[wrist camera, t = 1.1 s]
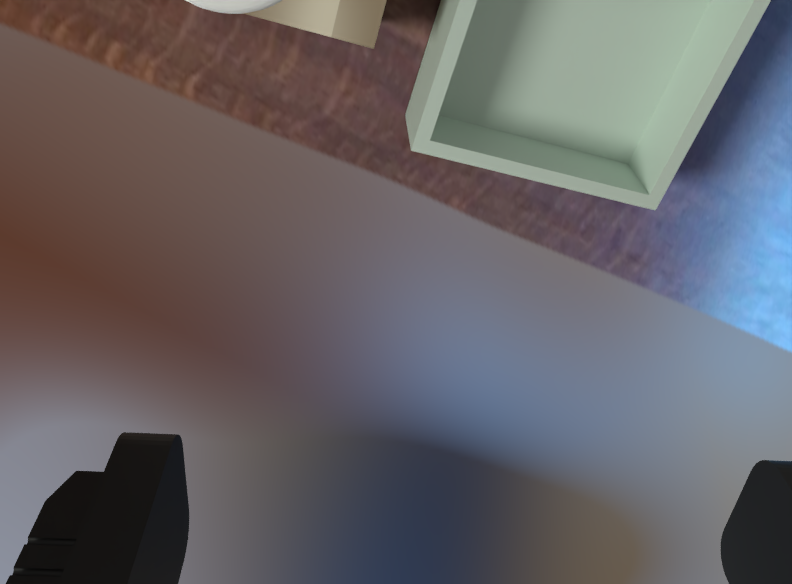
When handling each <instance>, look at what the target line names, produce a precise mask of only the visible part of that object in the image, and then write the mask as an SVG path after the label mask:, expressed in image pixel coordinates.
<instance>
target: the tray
mask: <svg viewBox="0 0 792 584" xmlns="http://www.w3.org/2000/svg"><path fill="white" fill-rule="evenodd" d="M770 1H771V0H441V1H440V5H439V8H438V11H437V14H436V18H435V21H434V24H433V27H432V30H431V34H430V37H429V40H428V43H427V47H426V50H425V53H424V56H423V59H422V63H421V66H420V69H419V72H418V76H417V79H416V82H415V85H414V88H413V92H412V95H411V98H410V101H409V105H408V108H407V111H406V114H405V117H406V123H407V129H408V135H409V141H410V147H411V151H415V152H419V153H423V154H428V155H432V156H436V157H440V158H444V159H448V160H452V161H456V162H460V163H464V164H468V165H472V166H476V167H481V168H485V169H489V170H493V171H497V172H501V173H505V174H509V175H513V176H517V177H521V178H525V179H530V180H534V181H538V182H542V183H546V184H550V185H554V186H558V187H562V188H566V189H570V190H574V191H579V192H583V193H587V194H591V195H595V196H599V197H603V198H607V199H611V200H615V201H619V202H623V203H627V204H632V205H636V206H640V207H644V208H648V209H652V210H656V208H657V207H658V205H659V203H660V201H661V199H662V198H663V196H664V194H665V192H666V190H667V188H668V187H669V185H670V183H671V181H672V179H673V178H674V176H675V174H676V172H677V170H678V168H679V167H680V165H681V163H682V161H683V159H684V158H685V156H686V154H687V152H688V150H689V148H690V147H691V145H692V143H693V141H694V139H695V138H696V136H697V134H698V132H699V130H700V128H701V127H702V125H703V123H704V121H705V119H706V118H707V116H708V114H709V112H710V110H711V108H712V107H713V105H714V103H715V101H716V99H717V98H718V96H719V94H720V92H721V90H722V89H723V87H724V85H725V83H726V81H727V79H728V78H729V76H730V74H731V72H732V70H733V69H734V67H735V65H736V63H737V61H738V59H739V58H740V56H741V54H742V52H743V50H744V49H745V47H746V45H747V43H748V41H749V39H750V38H751V36H752V34H753V32H754V30H755V29H756V27H757V25H758V23H759V21H760V19H761V18H762V16H763V14H764V12H765V10H766V9H767V7H768V5H769V3H770Z"/></svg>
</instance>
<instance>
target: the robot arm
mask: <svg viewBox="0 0 792 584" xmlns="http://www.w3.org/2000/svg"><path fill="white" fill-rule="evenodd" d="M188 531H189V505H188V496H187V485H186V475H185V465H184V454H183V445H182V440H181V437H180V435H175V434H174V435H173V434H150V433H126V432H124V433H122V434H121V435H120V436H119V438H118V439H117V442H116V444H115V446H114V449H113V451H112V454H111V456H110V458H109V461H108V463H107V466H106V468H105V471H104V472H92V471H76V472H75V473H74V474H73V475H72V476H71V477H70V478H69V479H68V480H66V481H65V482H64V483H63V484H62V486H60V488H58V489H57V490H56V491H55V492H54V493H53V494H52V495H51V496H50V497H49V498H48V499H47V500H46V501H45V503H44V505H43V507H42V509H41V511H40V513H39V515H38V518H37V520H36V522H35V524H34V526H33V528H32V530H31V532H30V534H29V536H28V543H27V545H24V547H23V549H22V551H21V553H20V555H19V557H18V559H17V562H16V564H15V566H14V572H13V575H11V576H10V577H9V578H8V580H7V582H6V584H178V582H179V578H180V574H181V570H182V566H183V562H184V558H185V553H186V547H187V540H188ZM721 559H722V565H723V569H724V572H725V575H726V577H727V580H728V582H729V584H792V461H769V460H762V461H759V462H758V463H756V465H755V466H754V467H753V469H752V471H751V472H750V474H749V477H748V479H747V481H746V483H745V485H744V487H743V490H742V492H741V494H740V496H739V498H738V500H737V503H736V505H735V507H734V509H733V511H732V513H731V515H730V518H729V520H728V522H727V524H726V526H725V528H724V531H723V534H722V539H721Z"/></svg>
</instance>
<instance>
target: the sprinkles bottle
mask: <svg viewBox="0 0 792 584" xmlns="http://www.w3.org/2000/svg"><path fill="white" fill-rule="evenodd" d="M186 1H188V2H189V3H191V4H194V5H196V6H198V7H200V8H203V9H207V10H211V11H215V12H220V13H229V14H241V13H249V12H254V11H259V10H263V9H266V8H268V7H271V6H273V5H275V4H277V3H279V2H281V1H282V0H186Z"/></svg>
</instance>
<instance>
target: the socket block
mask: <svg viewBox="0 0 792 584" xmlns="http://www.w3.org/2000/svg"><path fill="white" fill-rule="evenodd" d="M386 1H387V0H282V1H281V2H279V3H277V4H275V5H273V6H271V7H268V8H266V9H263V10H259V11H254V12H249V13H244V14H248V15H251V16H255V17H259V18H262V19H266V20H270V21H273V22H277V23H281V24H285V25H288V26H292V27H296V28H299V29H303V30H307V31H310V32H314V33H318V34H321V35H325V36H329V37H332V38H336V39H340V40H343V41H347V42H351V43H355V44H358V45H362V46H366V47H369V48H373V49H374V45H375V42H376V38H377V34H378V31H379V27H380V23H381V20H382V16H383V12H384V9H385V5H386Z"/></svg>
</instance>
